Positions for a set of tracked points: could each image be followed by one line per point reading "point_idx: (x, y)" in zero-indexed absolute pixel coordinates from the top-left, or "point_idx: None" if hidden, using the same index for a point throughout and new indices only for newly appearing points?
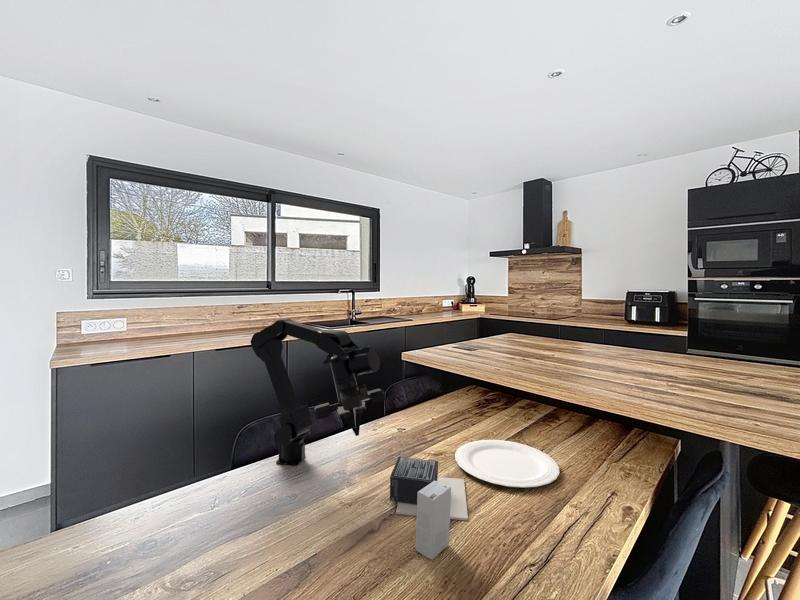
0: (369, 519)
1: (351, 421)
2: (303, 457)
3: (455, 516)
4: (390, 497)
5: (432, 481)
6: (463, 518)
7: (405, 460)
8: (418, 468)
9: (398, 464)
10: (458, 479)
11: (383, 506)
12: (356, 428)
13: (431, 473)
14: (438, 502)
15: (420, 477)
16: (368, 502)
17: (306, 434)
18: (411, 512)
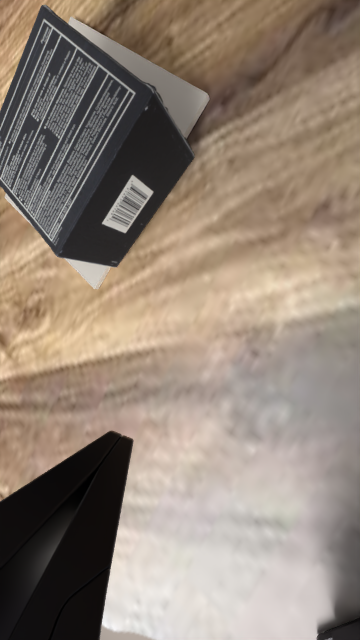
0: (305, 89)
1: (45, 624)
2: (346, 629)
3: (88, 30)
4: (190, 147)
5: (44, 6)
6: (78, 22)
7: (50, 211)
8: (40, 126)
9: (82, 188)
10: (12, 201)
11: (222, 155)
12: (82, 481)
13: (24, 72)
14: None
15: (62, 48)
16: (254, 197)
17: None
18: (170, 77)
